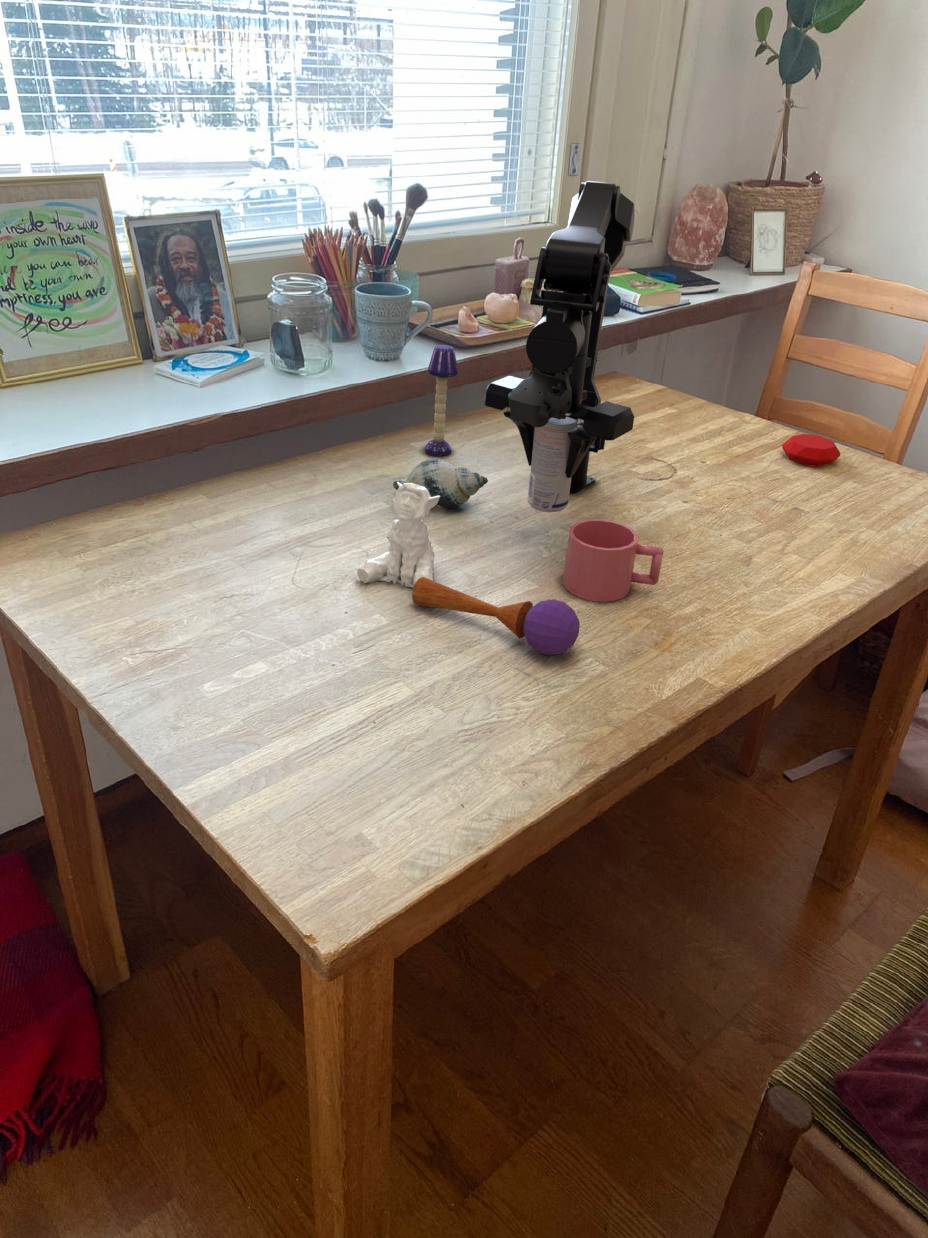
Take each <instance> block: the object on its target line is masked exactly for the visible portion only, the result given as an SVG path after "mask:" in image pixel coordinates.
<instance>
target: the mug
mask: <svg viewBox="0 0 928 1238" xmlns="http://www.w3.org/2000/svg"><path fill="white" fill-rule="evenodd" d="M567 537H568V538H567V544H566V552H565V561H564V567H563V577H562V583H563V587H564V588H565V590H566V591H568V593H570V594H572V595H573V596H575V597H577V598H580V599H583V600H586V601H592V602H598V603H600V602H601V603H606V602H607V603H608V602H615V601H619V600H622V599H624V598H625V597H626V596H628V594H629V593H630V591H631V585H632V583H634V584H635V583H636V584H642V585H650V586H656V585H657V584H658V583H659V580H660V579H659V578H660V574H661V570H662V569H661V567H662V563H663V558H664V553H665V552H664V549H663V548H662V547H661V546H656V545H655V546H654V545H647V544H641V543H639V535H638V533H637V532H636V531H635V530H634V529H633V528H632V527H630V526H628V525H626V524H625V523H622V522H618V521H615V520H609V519H602V518H594V519H593V518H592V519H590V518H589V519H584V520H580V521H576V522H574V524H572V525H571V526H570V527H569V530H568V535H567ZM636 555H641V556H648V557H651V562H650V568H649V574H646V573H642V572H641V573H640V572H634V568H635V562H636Z"/></svg>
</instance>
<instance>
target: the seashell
mask: <svg viewBox="0 0 928 1238" xmlns="http://www.w3.org/2000/svg"><path fill="white" fill-rule="evenodd" d="M397 482H399V483H401V484H402V485H403V483H406V484H407V483H414V484H417V485H419V486H424V487H425V488H426V489H427V490H428V491H429V494H430V496H431V497H434V496H440V498H439V500H438V503H437V504H436V505H435V506H438V507H440V508H443V509H456V508H459V507H461V506H463V505H465V504H466V503H467V502H468V501H469V499H470V498H471V496H474V495H475V494H476V493H477V492H478V491H479V490H480V489H482V488H484V486H485V485H487V484H488V482H489V479H488V477H485V476H483V475H480V474H479V473H477V472H473V471H471V470H469V469H467V468H466V467H455V466H454V465H452V464H451V463H450V462H448V461H446V460H444V459H442V458H438V457H432V458H428V459H425V460H423V461H422V462H420V463H419V464H417V465H416V466H415V467H414V469H412V471H410V473H408V474H407V476H405V477H404V478H399V479H397V480H395V481H394V482H393V483H392V486H393V488H394V490H396V491H397V490H398V488H399V486H398V484H397Z"/></svg>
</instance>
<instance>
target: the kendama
mask: <svg viewBox="0 0 928 1238" xmlns="http://www.w3.org/2000/svg"><path fill="white" fill-rule="evenodd" d="M413 585H414V584H413ZM411 600H412V602H413V604H415V606H421V607H427V608H435V609H441V610H447V611H454V612H461V613H468V614H474V615H481V616H487V617H495V618H496V619H497V620H498V621H499V622H500V623H502V624H503V625H504V626H505V627H506V628H507V629H508V630H509V631H510V632H511V633H513V634H514V635H515V637H517V638H518V639H523V638H524V637H525V640H526V642H527V644H528V645H529V646H530V647H532V648H533V649H534V650H536V652H538V653H539V654H543V655H547V656H555V655H559V654H563V653H565V652H567V651H568V650H570V649H571V648H572V647H573V646H574V645H575V644H576V642H577V639H578V637H579V634H580V619H579V617H578V615H577V612H576V611H575V609H573V607H571V606H570V605H569V604H568V603H566V602H565V601H562V600H559V599H555V598H552V599H545V600H540V601H538V602H537V603H535V604H534V605H533V602H532V601H530V600H529V601H528V600H527V601H522V602H516V603H512V604H508V605H502V606H496V605H493V604H491V603H489V602H486V601H483V600H481V599H479V598H476V597H474V596H471V595H469V594H466V593H464V592H462V591H459V590H457V589H454V588H452V587H449V586H447V585H444V584H442V583H439V582H437V581H435V580H433V581H432V580H430V579H427V578H425V577H421V578H419V579H418V580H417V582H416V583H415V585H414V587H413V588H412V593H411Z"/></svg>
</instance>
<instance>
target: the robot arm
mask: <svg viewBox="0 0 928 1238" xmlns="http://www.w3.org/2000/svg"><path fill="white" fill-rule="evenodd" d="M635 214H636V213H635V203H634V202H633V201H632V200H630V199H629V198H628V197H627V196H625V195H624V194H623V193H621V185H616V183H615V182H606V181H605V182H604V181H595V180H594V181H593V180H592V181H591V180H586V181H585V182H581V183H580V185H579V189H578V193H577V194H575V195H574V196H573V197H572V199H571V205H570V210H569V216H568V221H567V227H566V228H562V229H559V230H556V231H554V232H552V233H551V235H550V236H549V238H548V240H547V241H546V244H545V246H541V247H540V250H539V253H538V258H537V259H538V260H537V266H536V270H535V275H534V280H533V283H532V284H533V285H532V290H531V296H530V298H529V299H530V301H529V304H530V305H531V306H539V307H540V306H541V307H542V312H541V317H540V319H539V321H538V322H537V324H536V325H535V326H534V327H533V328H532V330H531V331H530V332H529V334H528V335H527V336H528V337H527V339H526V341H525V351H526V352H525V353H526V355H527V358H528V360H529V362H530V363H531V368H530V369H531V370H530V373H529V374H528V377H526V378H520V377H516V376H513V375H507V376H505V377H503V378H500V379H497V380H494V381H492V382H490V383H489V384H488V385H487V386H486V388H485V390H484V395H483V396H484V397H483V405H484V406H485V407H488V408H491V409H495V410H499V411H504V410H505V411H504V412H503V415H504V418H507V419H509V420H510V421H511V422H513V424H515V425H516V428H517V430H518V434H519V435H520V438H521V442H522V446H523V449H524V453H525V456H526V460H527V463H528V466H529V467H531V461H532V451H533V441H534V431H535V427H543V426H545V425H546V424H547V423H548V421H549V419H550V418H556V419H559V420H560V419H562V418H563V416H565V417H569V418H572V419H576V420H577V428H575V429H573V430H571V431H569V432H568V436H569V438H570V441H571V443H570V449H569V455H568V462H567V473H566V477H567V478H571V485H570V493H569V494H574V495H575V494H578V493H580V492H581V491H583V490H584V489H586V488H588V487H589V486H591V485H593V484H594V483H596V478H595V477H592V476H589V475H588V470H589V463H590V455H591V454H590V453H591V452H592V453H594V454H598V452H599V451H602V450H604V449H605V445H606V441H615V440H617V439H618V438H620V437H622V436H624V435H625V434H627V433H629V432H631V431H633V429H634V422H635V415H634V412H633V410H632V408H631V407H630V406H626V405H622V404H620V403H619V404H618V403H615V402H611V401H608V400H607V401H603V402H602V398H601V396H600V393H599V391H598V388H597V386H596V383H595V380H594V379H595V372H596V367H597V359H598V353H599V347H600V342H601V333H602V327H603V320H604V315H605V309H606V303H607V295H608V289H609V283H610V278H611V273H612V272H613V270H615V268H616V267H617V265H618V264H619V263H620V261H621V260H622V259H623V257H624V256H625V254H626V253H625V252H626V246H627V242H630V243H631V241H632V238H633V232H634V225H635ZM542 288H543V289H542Z"/></svg>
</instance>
